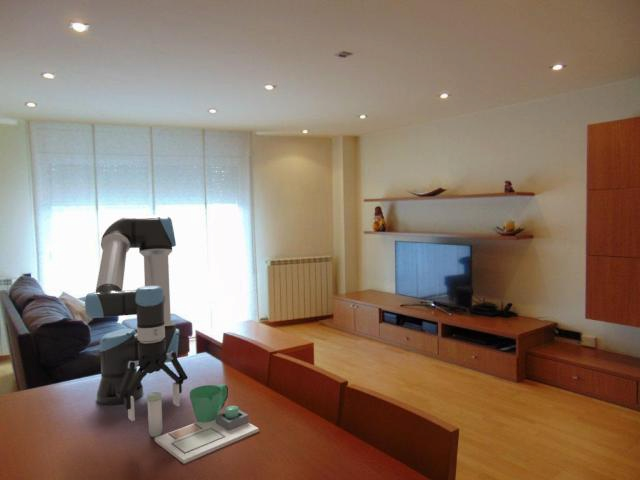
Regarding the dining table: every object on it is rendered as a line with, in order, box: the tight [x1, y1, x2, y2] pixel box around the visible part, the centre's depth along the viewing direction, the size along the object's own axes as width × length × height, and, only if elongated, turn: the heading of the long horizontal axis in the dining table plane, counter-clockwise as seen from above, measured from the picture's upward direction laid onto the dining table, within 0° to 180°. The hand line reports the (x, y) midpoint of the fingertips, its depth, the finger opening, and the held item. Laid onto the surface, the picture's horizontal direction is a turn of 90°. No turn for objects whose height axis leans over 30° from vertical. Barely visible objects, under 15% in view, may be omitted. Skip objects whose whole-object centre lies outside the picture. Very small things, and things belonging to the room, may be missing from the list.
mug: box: [189, 383, 229, 422], centre depth 146 cm, size 15×10×10 cm
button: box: [224, 405, 240, 420], centre depth 140 cm, size 4×4×3 cm
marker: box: [146, 391, 164, 438], centre depth 136 cm, size 4×4×12 cm
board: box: [154, 409, 260, 464], centre depth 134 cm, size 17×24×4 cm
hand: (154, 411), depth 135 cm, fingers open, 13 cm apart
